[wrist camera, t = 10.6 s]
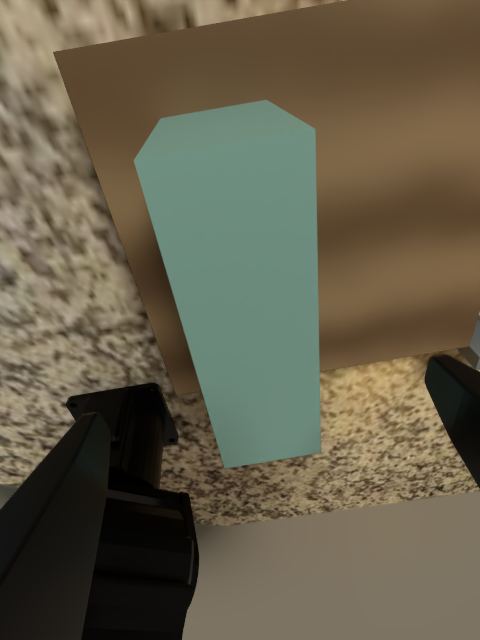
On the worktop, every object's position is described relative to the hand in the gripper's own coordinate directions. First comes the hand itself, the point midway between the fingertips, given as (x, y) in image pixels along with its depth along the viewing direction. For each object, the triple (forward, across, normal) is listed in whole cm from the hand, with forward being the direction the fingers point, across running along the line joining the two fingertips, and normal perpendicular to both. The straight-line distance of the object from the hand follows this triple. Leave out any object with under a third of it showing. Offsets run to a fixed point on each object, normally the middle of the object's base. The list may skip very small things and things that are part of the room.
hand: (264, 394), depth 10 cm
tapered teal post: (+9, 0, 0) cm, 9 cm away
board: (+12, -4, 0) cm, 13 cm away
